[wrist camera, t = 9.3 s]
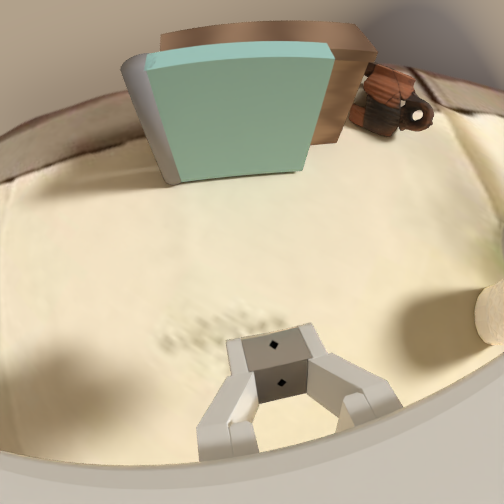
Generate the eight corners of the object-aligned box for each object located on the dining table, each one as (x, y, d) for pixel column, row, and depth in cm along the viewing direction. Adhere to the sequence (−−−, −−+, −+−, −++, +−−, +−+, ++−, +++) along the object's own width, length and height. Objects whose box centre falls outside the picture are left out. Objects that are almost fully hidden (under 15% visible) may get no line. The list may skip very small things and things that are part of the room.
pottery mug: (324, 112, 34) (340, 50, 28) (356, 110, 39) (371, 60, 34) (413, 157, 28) (439, 90, 23) (429, 148, 34) (449, 95, 29)
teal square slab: (163, 186, 29) (117, 78, 15) (163, 166, 29) (123, 57, 16) (302, 172, 29) (336, 60, 16) (297, 153, 30) (325, 41, 17)
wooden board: (186, 165, 30) (159, 64, 17) (183, 132, 31) (160, 34, 19) (339, 144, 31) (378, 52, 19) (326, 114, 33) (354, 24, 20)
